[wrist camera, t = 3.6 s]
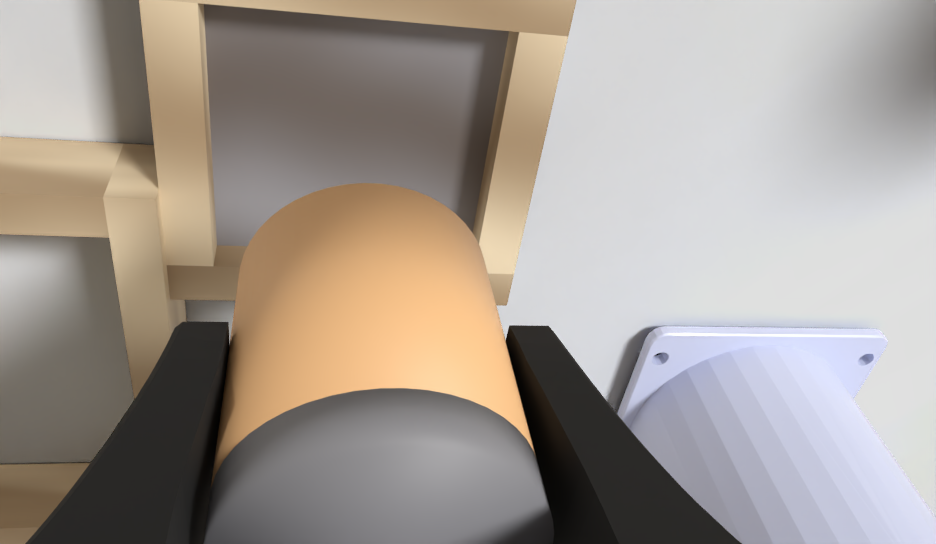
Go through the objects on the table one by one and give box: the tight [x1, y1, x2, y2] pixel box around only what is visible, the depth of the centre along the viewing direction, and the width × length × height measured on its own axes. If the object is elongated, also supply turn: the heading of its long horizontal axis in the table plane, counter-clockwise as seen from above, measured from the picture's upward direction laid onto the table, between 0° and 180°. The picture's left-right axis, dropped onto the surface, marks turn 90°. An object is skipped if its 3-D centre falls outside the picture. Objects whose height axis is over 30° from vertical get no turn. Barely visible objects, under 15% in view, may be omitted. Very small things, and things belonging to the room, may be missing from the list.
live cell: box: [204, 183, 554, 544], centre depth 11 cm, size 4×4×5 cm
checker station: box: [0, 0, 576, 544], centre depth 19 cm, size 17×16×2 cm
